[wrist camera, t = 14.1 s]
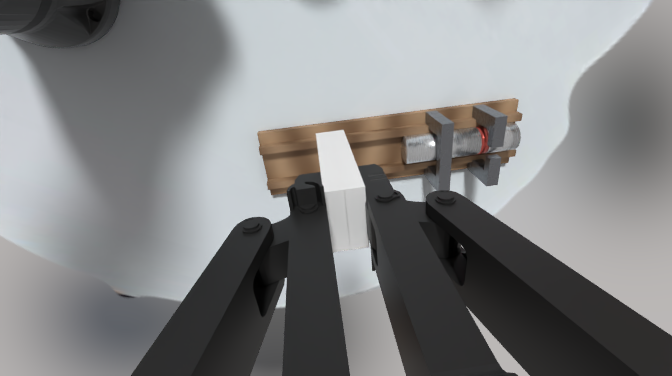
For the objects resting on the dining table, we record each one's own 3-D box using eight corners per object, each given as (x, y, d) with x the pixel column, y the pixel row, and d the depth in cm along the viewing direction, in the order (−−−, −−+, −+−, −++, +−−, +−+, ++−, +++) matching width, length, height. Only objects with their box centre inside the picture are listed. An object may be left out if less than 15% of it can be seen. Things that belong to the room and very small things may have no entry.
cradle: (271, 191, 51) (270, 199, 49) (258, 131, 47) (256, 137, 44) (504, 160, 53) (513, 166, 50) (514, 98, 48) (524, 102, 46)
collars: (423, 174, 51) (438, 192, 46) (425, 111, 46) (442, 124, 41) (476, 166, 52) (497, 184, 46) (483, 104, 47) (507, 115, 41)
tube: (401, 160, 49) (409, 167, 46) (400, 134, 48) (408, 139, 44) (503, 146, 50) (519, 152, 46) (505, 120, 49) (521, 124, 45)
